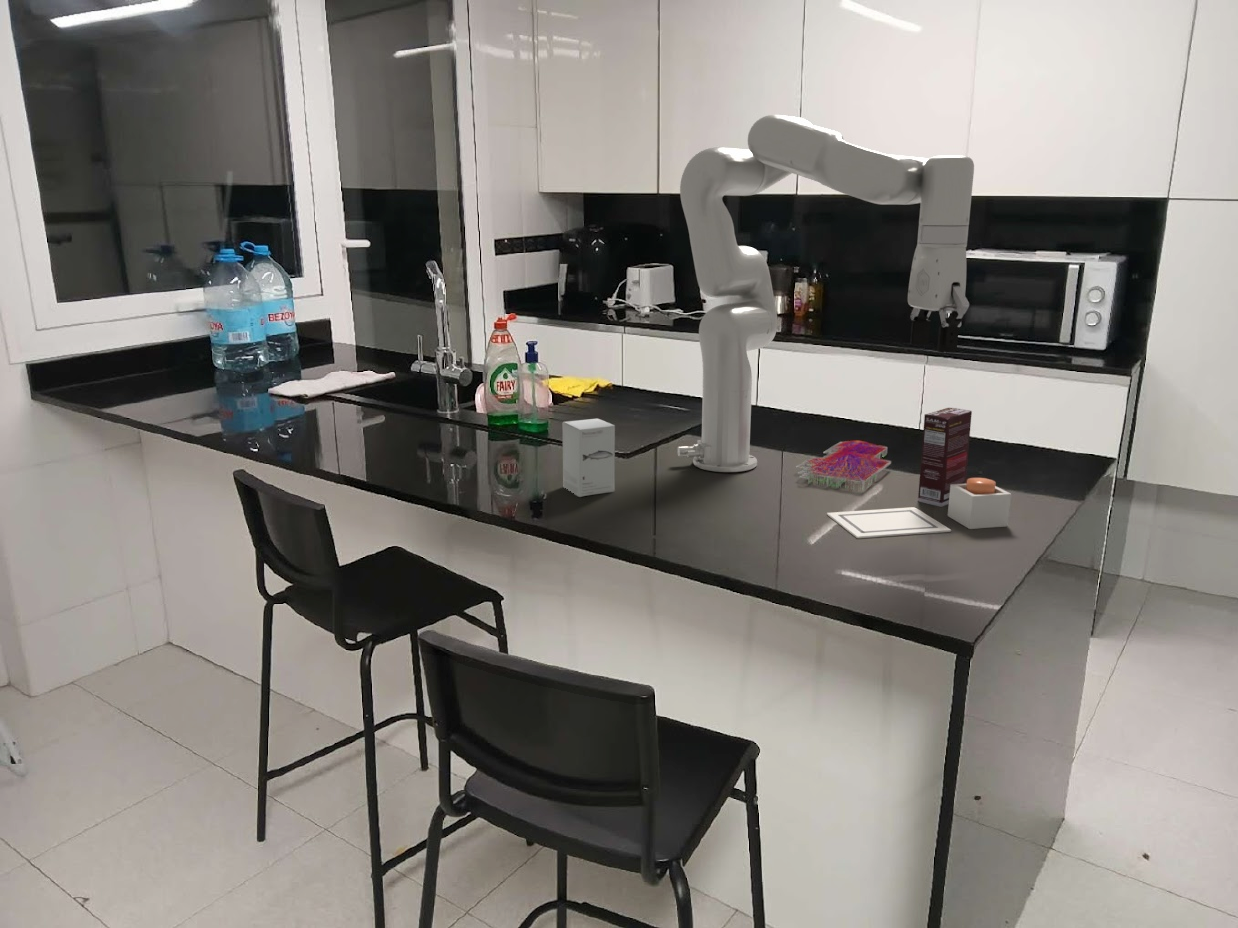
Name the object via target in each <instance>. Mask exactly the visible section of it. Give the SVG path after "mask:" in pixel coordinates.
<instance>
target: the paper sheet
mask: <svg viewBox="0 0 1238 928" xmlns="http://www.w3.org/2000/svg"><path fill="white" fill-rule="evenodd" d="M826 515H827V516H828V517H829V518H831V519H832V520H833V521H834V522H835V523H837V524H838V525H839V526H841V528H843V529H845V530H846V531H847V532H848V533H850V534H851V535H852V536H853V537H854V538H856V539H867V538H881V537H895V536H896V537H897V536H908V535H909V536H910V535H911V536H912V535H922V534H923V535H924V534H925V535H926V534H938V533H939V534H940V533H951V532H952V529H950V528H949V527H947V526H946V525H944V524H942V523H941V522H939V521H937V520H936V519H935V518H932V516H930V515H928V514H926V513H925V512H923V511H922V510H920V509H918V508H916V507H914V506H913V507H912V506H911V507H909V506H908V507H897V508H896V507H895V508H883V509H882V508H880V509H867V510H866V509H865V510H851V511H850V510H849V511H838V512H837V511H836V512H826Z"/></svg>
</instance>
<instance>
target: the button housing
mask: <svg viewBox="0 0 1238 928" xmlns="http://www.w3.org/2000/svg"><path fill="white" fill-rule="evenodd" d="M966 485H967V482H966V484H951V485H950V496H949V504H948V505H947V506H948V509H947V517H949V518H950V519H953V520H954V521H955V522H957V523H958V524H961V525H962V526H964V527H965V528H966V529H967V528H968V529H969V530H973V529H975V530H976V529H988V528H1004V527H1009V518H1010V509H1011V503H1012V501H1011V500H1012V493H1011V492H1009V491H1006V490H1005V489H1003V488H1001V487H998V486H996V485H995V493H993V494H977V495H974V494H972V493H971V492H969V491H967V490H966Z"/></svg>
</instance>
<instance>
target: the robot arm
mask: <svg viewBox="0 0 1238 928" xmlns="http://www.w3.org/2000/svg"><path fill="white" fill-rule="evenodd" d="M747 146H748V149H747V148H735V147H723V146H722V147H721V146H719V147H710V148H709V147H708V148H705V149H703V150H701V151H699V152H698V153H696V154H695V155H694V156H692V157H691V158H690V160H689V161H688V163H687V164H686V166H685V168H684V170H683V173H682V176H681V179H680V183H679V185H680V186H679V187H680V188H679V193H680V194H679V195H680V201H681V207H682V210H683V213H684V218H685V221H686V225H687V229H688V234H689V242H690V247H691V253H692V259H693V265H694V270H695V275H696V276H695V277H696V280H697V284H698V287H699V290H701V292H702V294H704V295H705V296H707V297H710V298H716V299H718V298H720V299H721V298H727V297H730V299H731V303H725V304H720V305H717V306H714V307H712V308H711V309H709V310H708V311H707V312H706V313H705V314H704V315H703V317H702V318H701V320H700V322H699V326H698V327H699V328H698V339H699V345H700V352H701V358H702V361H701V362H702V401H701V402H702V406H701V407H702V408H701V409H702V410H701V439H697V440H696V442H697V443H694V444H693V445H692V446H687V445H684V446H683V445H681V446H677V456H678V457H683V456H685V457H686V456H687V458H693V459H692V460H693V461H692V462H693V465H694V466H695V467H697V468H699V469H701V470H703V471H704V470H705V471H708V472H709V471H710V472H715V473H716V472H717V473H739V472H745V471H750V470H752V469H755V467H757V466H758V459H757V458H756V456H754V455H752V454H750V444H751V443H750V441H751V420H752V419H751V416H752V392H753V391H752V389H753V388H752V387H753V386H752V385H753V375H752V374H753V373H752V367H751V363H750V359H749V357H748V353H747V352H749V351H754V350H759V349H762V348H764V347H767V346H768V345H769V344H771V342H772V341H773V340H774V338H775V336H776V333H777V329H778V314H777V309H776V303H775V296H774V290H773V285H772V279H771V275H770V267H769V266H768V263H767V260H766V258H764V256H763V254H761V252H760V251H758V250H757V248H754V247H751V246H747V245H738V243H737V239H736V234H735V226H734V222H733V219H732V216H731V214H730V212H729V210H728V208H727V206H726V205H725V203H724V201H723V197H724V196H732V197H733V196H737V197H738V196H741V197H742V196H743V197H747V196H753V195H757V194H759V193H761V192H763V191H765V190H767V189H768V188H770V187H772V186H773V185H775V184H777V183H779V182H780V181H782V180H783V179H785V178H786V177H788V176H789V175H791V174H794V175H797V176H801V177H803V178H806V179H808V180H811V181H814V182H818V183H820V185H821V186H822V185H823V186H826V187H827V188H830V189H831V190H834V191H835V192H838V193H841V194H845V195H847V196H851V197H854V198H856V199H860V200H862V201H865V202H869V203H872V204H876V205H899V206H901V205H904V206H905V205H907V206H908V205H915V204H920V205H919V206H920V208H919V219H918V231H917V244H916V248H915V250H914V253H913V257H912V263H911V268H910V269H911V270H910V276H909V281H908V282H909V283H908V292H907V303H908V306H909V307H908V308H909V309H910V312H911V313H910V320H911V326H910V327H911V328H910V339H909V342H910V343H909V344H910V345H913V346H916V345H917V346H919V345H921V346H922V345H928V344H929V343H930V334H931V322H932V321H931V320H930V319H929V317H930V316H931V313H932V312H936V311H937V312H939V313H938V314H939V317H940V322H941V326H939V327H938V335H937V347H936V351H937V352H939V353H955V352H957V349H958V343H959V341H958V340H959V331H960V327H961V326H962V321H963V320H964V319H965V315H966V313H967V311H968V310H969V307H970V302H969V301H968V298H967V297H966V288H967V287H966V286H967V246H968V237H969V225H970V216H971V205H972V193H973V183H974V174H975V164H974V161H973V159H972V158H971V157H970V156H965V155H936V156H932V157H929V158H925V157H917V156H910V155H909V156H906V155H897V154H886V153H884V152H883V153H882V152H879V151H876V150H871V149H868V148H865V147H861V146H858V145H855V144H852V143H849V142H847V141H845V139H844V137H843V135H842V134H841V133H840V132H838V131H835V130H833V129H832V130H831V129H828V128H824V127H821V126H817V125H813V124H812V123H811V122H810V121H808V120H806V119H805V118H803V117H798V116H797V117H796V116H790V115H789V116H788V115H781V114H768V115H765V116H762V117H760V118H759V119H758V120H756V121H755V122H754V123H753V124H752V126H751V128H750V129H749V132H748V135H747ZM948 314H949V315H948Z"/></svg>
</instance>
